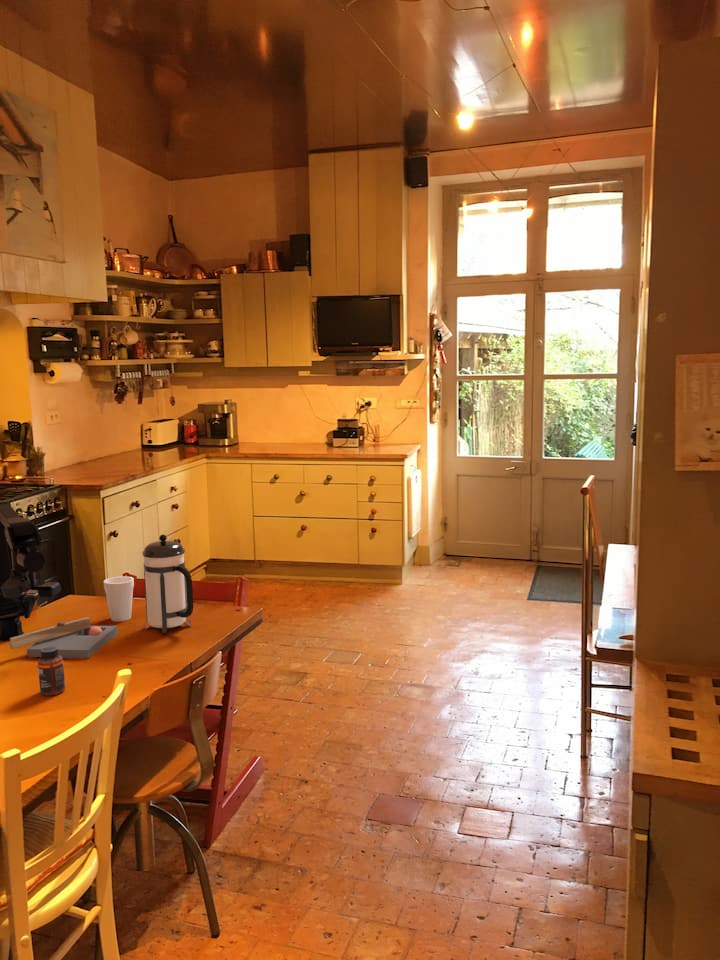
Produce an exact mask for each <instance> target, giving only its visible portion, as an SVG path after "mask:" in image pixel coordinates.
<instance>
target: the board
mask: <svg viewBox="0 0 720 960" xmlns="http://www.w3.org/2000/svg"><path fill="white" fill-rule="evenodd" d="M94 626H95V625H90V628H87V629H83V630H80V631H76V632H73V633H69V634H66V635H62V636H59V637H55V638H52V639H48V640H44V641H41V642H37V643H34V644H31V645H30V646H28V648H27V649H26V655H27V656H28V657H41V650H42V649H43V648H46V647H57V648H58V654H59V655H61V656H62V658H63V659H89V658H91V657H92V656H93V655H94V654H95V653H97V652H98V651H100V649H101V648H103V647H104V646H105V645H106V644H107V643H109V642H110V641H111V640H112V639H113V638H115V637H116V636H117V635H118V634H119V631H118V625H96V626H97V627H100V628H101V629H102V632H101V633H100V634H99V635H97V636H89V634H88V632H89V630H90V629H91V628H92V627H94ZM27 656H26V657H27Z"/></svg>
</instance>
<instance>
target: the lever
mask: <svg viewBox="0 0 720 960" xmlns="http://www.w3.org/2000/svg"><path fill="white" fill-rule="evenodd" d="M90 626H91V618H90V617H88V616H86V617H82V618H79V619H78V618H77V619H75V620H71V621H68V622H64V621H59V622H57V623H56V625H54V626H53V625H52V626H48V627H46V628H42V629H39V630H34V631H32V632H28V633H23V634H22V635H19V636H16V637H12V638H10V640H9V647H10V649H11V650H16V649H18V648H19V649H20V648H22V647H23V648H24V647H26V646H31V645H34V644H35V643H37V642H41V641H44V640H48V639H52V638H55V637H59V636H62V635H66V634H69V633H73V632H76V631H80V630H83V629H87V628H90Z"/></svg>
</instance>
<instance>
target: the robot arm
mask: <svg viewBox="0 0 720 960" xmlns="http://www.w3.org/2000/svg"><path fill="white" fill-rule="evenodd" d="M41 542H42V537H41V535H40V532H39V529H38V527H37V525H36V524H35V523H34V522H33V521H32V520H31V519H30V518H26V517H21V516H20V515H19V514H18V512H17V511H16V510H15V509H14V508H13V507H12V504H11V502H10V501H7V500H5V501H2V500H1V501H0V641H10V638H12V637H16V636H19V635H23V634H25V633H24V631H23V626H22V625H23V623H22V620H21V617H24V619H26V620H27V619H29V618H30V617H31V614H32V612H33V610H34V607H35V604H36V602H37V600H38V598H39V597H41V598H53V597H54V596H55V595H57V594H59V593H61V592H62V586H61V584H60V583H59V582H57V581H56V582H55V581H53V582H52V581H46V582H45V583H43V584H41V585H37V584H39V580H38V579H36V572H38V571H41V569H43V568H44V566H45V563H46V558H45V556H44V554H43V553H41V552H40V551H38V550H37V549H38V548H37V547H39V546H41V545H42V543H41ZM8 546H9V547H8ZM9 548H10V553H11V560H10V554H9ZM10 561H11V562H10ZM11 567H12V568H11Z"/></svg>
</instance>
